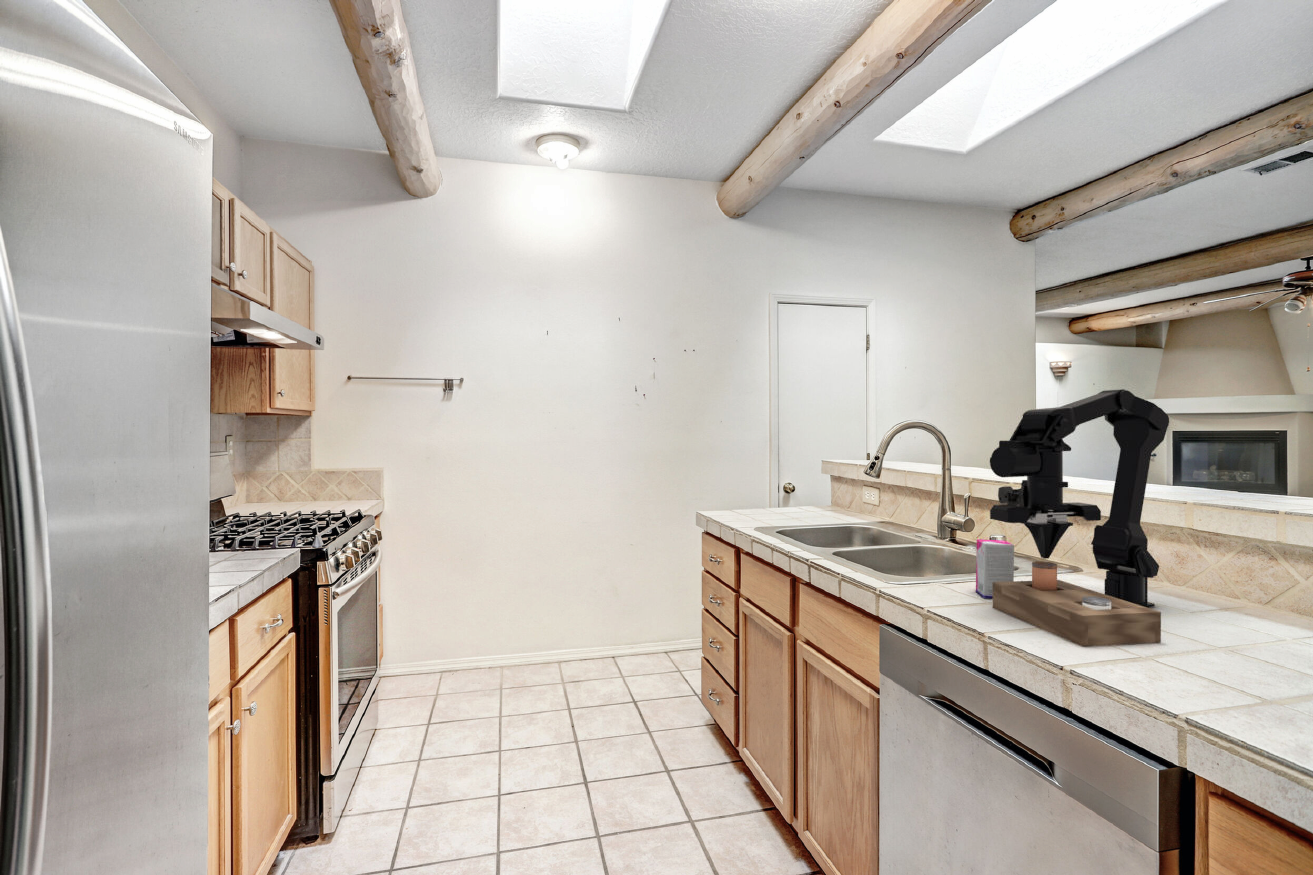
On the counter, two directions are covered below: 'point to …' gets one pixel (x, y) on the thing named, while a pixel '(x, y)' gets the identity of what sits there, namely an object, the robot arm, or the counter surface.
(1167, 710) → the counter surface
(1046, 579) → the terracotta plug
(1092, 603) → the plug
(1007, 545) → the supplement box
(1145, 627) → the wooden holder block
